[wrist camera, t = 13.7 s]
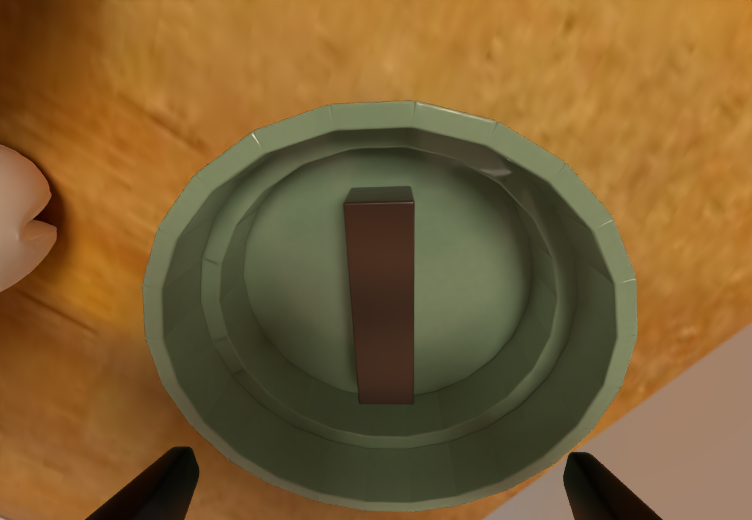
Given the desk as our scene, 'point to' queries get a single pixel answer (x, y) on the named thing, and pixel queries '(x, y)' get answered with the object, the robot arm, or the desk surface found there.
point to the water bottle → (22, 217)
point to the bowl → (431, 307)
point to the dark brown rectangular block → (382, 291)
